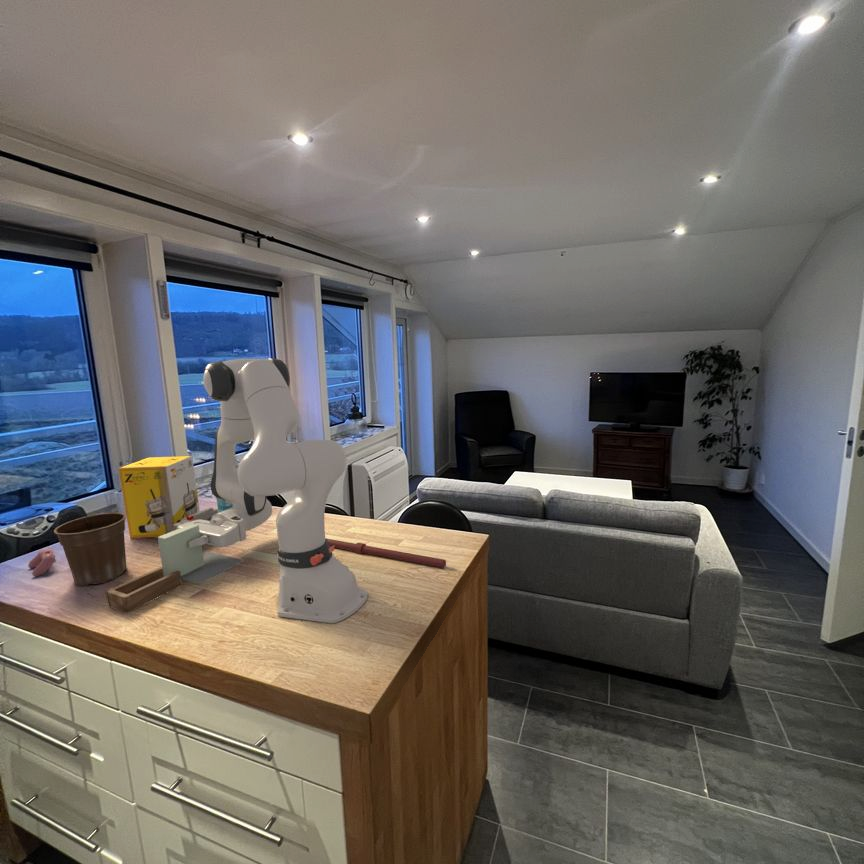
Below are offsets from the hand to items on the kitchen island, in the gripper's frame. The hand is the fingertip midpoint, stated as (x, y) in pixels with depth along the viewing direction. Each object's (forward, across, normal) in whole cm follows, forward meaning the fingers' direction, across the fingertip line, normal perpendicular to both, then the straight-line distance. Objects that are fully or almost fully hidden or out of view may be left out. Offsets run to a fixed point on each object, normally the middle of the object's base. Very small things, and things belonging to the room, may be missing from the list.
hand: (183, 543), depth 125 cm
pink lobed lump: (+14, -46, +10) cm, 49 cm away
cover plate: (+1, 0, +8) cm, 8 cm away
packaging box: (-21, -41, +10) cm, 47 cm away
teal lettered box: (-42, -30, +10) cm, 53 cm away
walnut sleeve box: (+11, 0, +9) cm, 14 cm away
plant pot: (+10, -24, +10) cm, 28 cm away
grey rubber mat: (-5, 0, +10) cm, 11 cm away
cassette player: (-17, -18, +10) cm, 27 cm away
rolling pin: (-31, +43, +10) cm, 54 cm away
